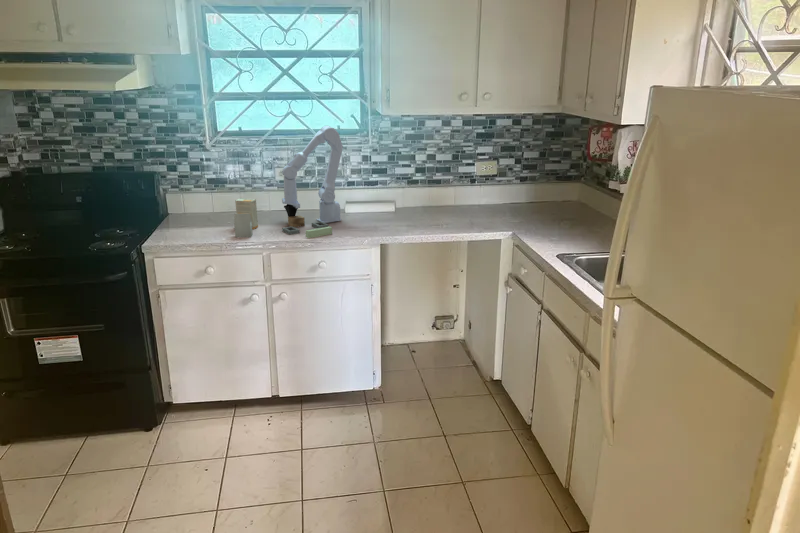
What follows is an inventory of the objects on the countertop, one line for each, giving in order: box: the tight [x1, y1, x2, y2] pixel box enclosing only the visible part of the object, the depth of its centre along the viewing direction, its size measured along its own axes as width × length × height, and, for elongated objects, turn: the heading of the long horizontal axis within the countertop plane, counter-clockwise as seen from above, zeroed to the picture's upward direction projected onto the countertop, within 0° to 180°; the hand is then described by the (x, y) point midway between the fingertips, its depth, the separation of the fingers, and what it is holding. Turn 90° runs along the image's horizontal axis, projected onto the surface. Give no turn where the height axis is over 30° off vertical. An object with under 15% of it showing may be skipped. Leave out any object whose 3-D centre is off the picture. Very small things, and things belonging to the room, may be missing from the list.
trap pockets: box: [281, 221, 333, 239], centre depth 269 cm, size 20×16×3 cm
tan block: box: [287, 214, 306, 228], centre depth 279 cm, size 6×5×4 cm
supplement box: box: [234, 197, 259, 230], centre depth 273 cm, size 8×5×13 cm, turn 74°
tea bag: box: [233, 213, 253, 238], centre depth 260 cm, size 4×7×10 cm, turn 93°
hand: (291, 220), depth 283 cm, fingers closed
